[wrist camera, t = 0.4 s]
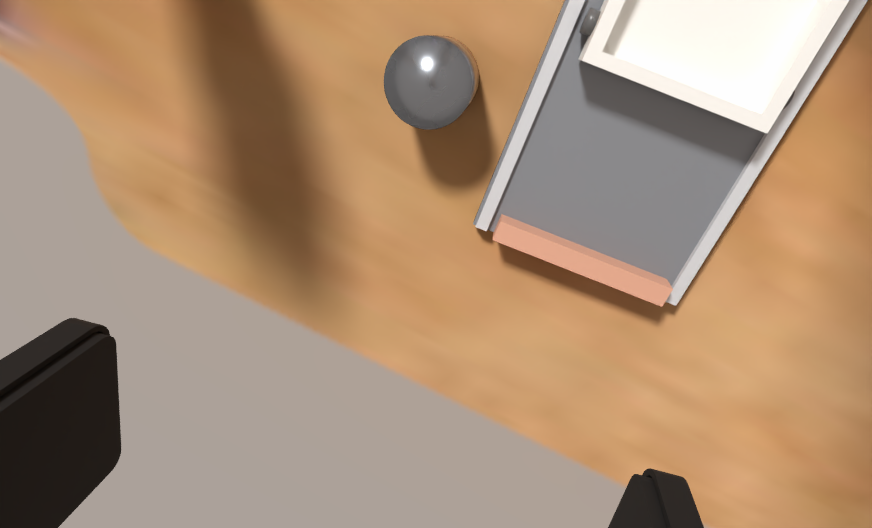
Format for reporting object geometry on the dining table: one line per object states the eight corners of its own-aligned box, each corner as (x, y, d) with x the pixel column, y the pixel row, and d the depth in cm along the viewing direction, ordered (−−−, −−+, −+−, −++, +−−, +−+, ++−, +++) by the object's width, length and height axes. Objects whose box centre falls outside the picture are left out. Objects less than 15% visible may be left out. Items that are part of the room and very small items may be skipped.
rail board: (655, -219, 28) (667, -242, 26) (927, -111, 28) (964, -125, 26) (474, 219, 38) (471, 231, 36) (673, 298, 38) (683, 315, 36)
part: (416, 23, 34) (399, 21, 30) (491, 52, 34) (485, 55, 30) (392, 101, 36) (372, 110, 32) (462, 129, 36) (453, 142, 32)
